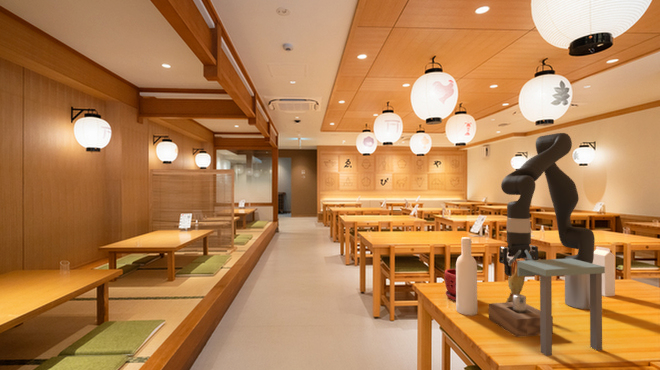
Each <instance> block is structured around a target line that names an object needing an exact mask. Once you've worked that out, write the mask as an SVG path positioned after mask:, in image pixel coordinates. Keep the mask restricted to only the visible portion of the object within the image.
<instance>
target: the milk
mask: <svg viewBox="0 0 660 370" xmlns="http://www.w3.org/2000/svg"><path fill="white" fill-rule="evenodd" d="M615 257H616V255H615V254H614V253H612V252H611V249H610V248H609V247H604V246H595V249H594V259H593V263H592V264H596V265H600V266H604V267H605V273H602V297H613V296H616V264H615V263H616V258H615Z"/></svg>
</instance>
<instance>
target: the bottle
mask: <svg viewBox="0 0 660 370" xmlns="http://www.w3.org/2000/svg"><path fill="white" fill-rule="evenodd" d="M460 242H461V254H460V255H459V256H457V259H456V262H455V269H456V301H455V310H456V312H458V313H459V314H461V315H464V316H476V315H477V314H478V264H477V261H476V259H475V258H474V256H472V238H471V237H467V236H464V237H461V241H460Z"/></svg>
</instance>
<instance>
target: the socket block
mask: <svg viewBox="0 0 660 370" xmlns="http://www.w3.org/2000/svg"><path fill="white" fill-rule="evenodd" d="M553 318H554V317H553V315H552V335H553V334H554V333H553V332H554V331H553V330H554V325H553V324H554V323H553V320H554V319H553ZM488 320H489V321H491V322H492V323H494V324H496V325H497V326H498V327H501V328H502V329H503V330H505V331H506V332H508V333H509V334H510V335H512V336H515V337H516V338H521V337H533V336H540V309H538V308H536V307H534V306H531V305H530V304H527V303H526V313H520V314H518V313H516V312H514V311H513V302H506V301H505V302H493V303H492V302H491V303H488Z"/></svg>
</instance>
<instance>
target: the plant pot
mask: <svg viewBox="0 0 660 370" xmlns="http://www.w3.org/2000/svg"><path fill="white" fill-rule="evenodd" d="M444 284H445V288H446V291H445V296H446V297H447V298H449V299H450V300H452V301H455V302H456V268H449V269H445V270H444Z"/></svg>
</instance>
